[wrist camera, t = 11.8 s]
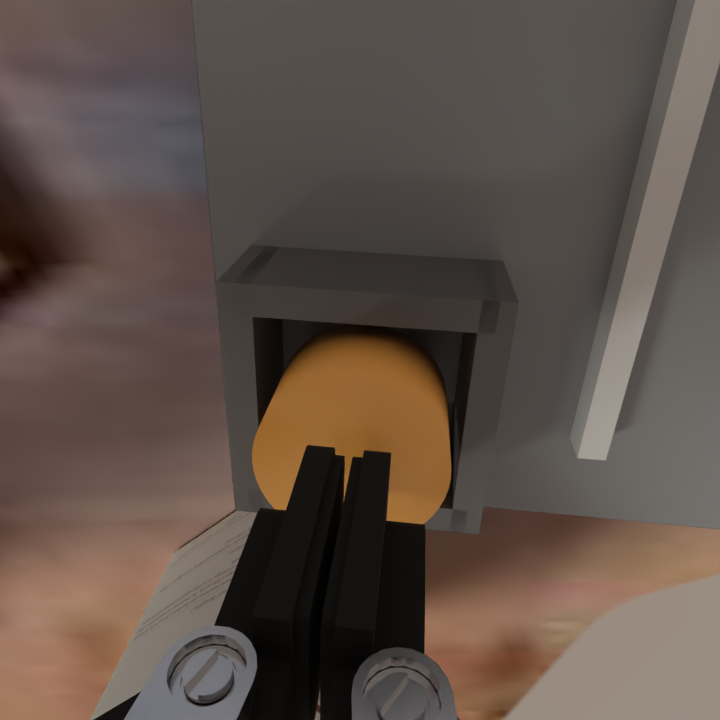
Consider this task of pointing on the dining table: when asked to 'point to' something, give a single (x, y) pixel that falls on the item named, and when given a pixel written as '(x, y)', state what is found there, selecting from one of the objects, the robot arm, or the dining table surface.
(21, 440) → the dining table surface
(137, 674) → the supplement box
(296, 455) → the orange button
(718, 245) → the panel
